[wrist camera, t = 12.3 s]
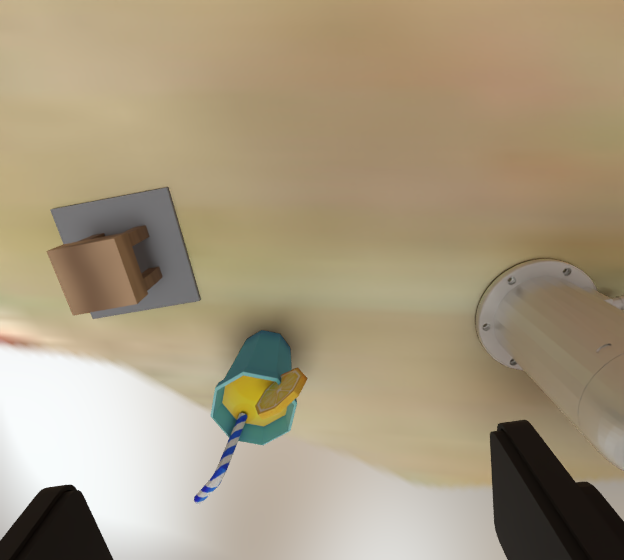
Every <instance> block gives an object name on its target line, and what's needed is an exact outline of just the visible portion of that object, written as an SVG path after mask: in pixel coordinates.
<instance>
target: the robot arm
mask: <svg viewBox="0 0 624 560" xmlns="http://www.w3.org/2000/svg"><path fill="white" fill-rule="evenodd" d="M509 278H510V279H509ZM508 279H509V280H508ZM623 310H624V296H618V297H615V298H609V297H607V296H605V295H603V294H601V293H599V292H598V291H597V288H596V286H595V284H594V283H593V281H592V280H591V278H590V277H589V276H588V275H587V274H586V273H584V272H583V271H582V270H580V269H579V268H577V267H575V266H573V265H571V264H569V263H566V262H564V261H559V260H554V259H537V260H531V261H527V262H524V263H521V264H518V265H516V266H514V267H512V268H511V269H509V270H507V271H505V272H504V273H503V274H501V275H500V276H499V277H498V278H496V279H495V281H494V282H493V283H492V284H491V285H490V286H489V287H488V289H487V290H486V292H485V293H484V295H483V296H482V298H481V301H480V303H479V306H478V309H477V314H476V330H477V334H478V338H479V340H480V342H481V344H482V346H483V347H484V348H485V350H486V351H487V352H488V353H489V354H490V355H491V356H492V357H493V358H494V359H495V360H496V361H498V362H499V363H501V364H502V365H505V366H507V367H509V368H513V369H518V370H524V371H525V372H526V373H527V374H528V375H529V376H530V378H531V379H532V380H533V381H534V382H535V383H536V384H537V385H538V386H539V387H540V388H541V390H542V391H543V392H544V393H545V394H546V395H547V396H548V397H549V398H550V399H551V400H552V402H553V403H554V404H555V405H556V406H557V407H558V408H559V409H560V410H561V411H562V413H563V414H564V415H565V416H566V417H567V418H568V419H569V420H570V421H571V422H572V423H573V425H574V426H575V427H576V428H577V429H578V430H579V431H580V432H581V433H582V434H583V435H584V437H585V438H586V439H587V440H588V441H589V442H590V443H591V444H592V445H593V446H594V447H595V449H596V450H597V451H598V452H599V453H600V454H601V455H602V456H604V457H605V458H606V459H607V460H608V461H609V462H611V463H612V464H613V465H615V466H616V467H618V468H619V469H621V470H623V471H624V311H623ZM484 324H485V325H484ZM490 447H491V467H492V487H493V507H494V524H495V530H496V533H497V536H498V539H499V542H500V544H501V546H502V548H503V550H504V553H505V555H506V557H507V559H508V560H624V521H623V520H622V519H621V518H620V517H619V515H618V514H617V513H616V512H615V510H614V509H613V508H612V507H611V506H610V504H609V503H608V502H607V501H606V499H605V498H604V497H603V496H602V494H601V493H600V492H599V491H598V490H597V489H596V488H595V487H594V486H593V485H591V484H590V483H588V482H577V483H576V482H575V481H574V480H573V478H572V477H571V476H570V474H569V473H568V472H567V471H566V469H565V468H564V467H563V465H562V464H561V463H560V461H559V460H558V459H557V457H556V456H555V455H554V454H553V452H552V451H551V450H550V448H549V447H548V446H547V444H546V443H545V442H544V440H543V439H542V438H541V437H540V435H539V434H538V433H537V431H536V430H535V429H534V427H533V426H532V425H531V424H530V423H529V422H528V421H527V420H519V421H512V422H505V423H500V424H498V426H497V431H494V432H491V433H490ZM0 560H113V558H112V556H111V554H110V552H109V549H108V547H107V545H106V543H105V541H104V539H103V537H102V534H101V533H100V530H99V528H98V526H97V524H96V522H95V519H94V517H93V515H92V513H91V511H90V509H89V507H88V505H87V502H86V500H85V498H84V496H83V494H82V493H81V491H79V490H76V488H75V487H74V486H73V485H62V486H55V487H49V488H44V489H43V490H41V491H40V492H39V493H38V494H37V495H36V496H35V498H34V499H33V500H32V502H31V503H30V504H29V505H28V506H27V508H26V509H25V510H24V512H23V513H22V514H21V515H20V517H19V518H18V519H17V520H16V522H15V523H14V524H13V525H12V527H11V528H10V529H9V530H8V532H7V533H6V535H5V536H4V537H3V538H2V539H1V541H0Z"/></svg>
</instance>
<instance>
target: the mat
mask: <svg viewBox="0 0 624 560" xmlns="http://www.w3.org/2000/svg"><path fill="white" fill-rule="evenodd" d="M51 213H52V215H53V218H54V220H55V223H56V226H57V228H58V231H59V233H60V236H61V238H62V241H63V244H68V243H73V242H78V241H80V240H82V239H85V238H87V237H90V236H92V235H96V234H101V233H104V234H105V236H110V235H115V234H120V233H123V232H125V231H127V230H130V229H132V228H134V227H138V226H143V225H146V227H147V230H148V233H149V236H150V237H148V238H146V239H145V240H143V241H141V242H139V243H137V244H136V245H134V246H132V248H133V250H134V253H135V256H136V259H137V262H138V265H139V268H140V271H141V274H142V273H143V272H144V271H145V270H147V269H148V268H154V267H160V270H161V273H162V278H161V279H160V280H159V281H158V282H157V283H156V284H155V285H153V286H152V287H151V288H150V289H149V290H148V291H147V292H148V295H147V296H146V297H144V298H143V299H142V300H141V301H140V302H139V303H138V304H135V305H129V306H124V307H118V308H112V309H107V310H101V311H95V312H90V313H91V316H92V318H93V319H96V318H101V317H107V316H113V315H119V314H125V313H131V312H137V311H143V310H149V309H154V308H160V307H166V306H172V305H178V304H184V303H190V302H196V301H200V300H201V299H200V295H199V292H198V288H197V285H196V281H195V278H194V274H193V271H192V268H191V264H190V261H189V257H188V254H187V250H186V247H185V243H184V240H183V237H182V233H181V230H180V226H179V223H178V219H177V216H176V212H175V209H174V205H173V202H172V199H171V195H170V192H169V188H168V187H167V188H161V189H156V190H151V191H145V192H140V193H135V194H130V195H124V196H119V197H114V198H108V199H103V200H98V201H93V202H87V203H82V204H77V205H72V206H66V207H61V208H56V209H51Z"/></svg>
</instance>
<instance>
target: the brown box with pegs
mask: <svg viewBox="0 0 624 560" xmlns="http://www.w3.org/2000/svg"><path fill="white" fill-rule="evenodd" d="M148 237H150V236H149V233H148V230H147V227H146V225H143V226H138V227H134V228H132V229H130V230H127V231H125V232H123V233H120V234H115V235H110V236H105V234H104V233H101V234H96V235H92V236H90V237H87V238H85V239H82V240H80V241H78V242H73V243H68V244H63V245H61V246H58V247H56V248H53V249H51V250H48V251H47V254H48V256H49V258H50V261H51V263H52V266H53V268H54V271H55V273H56V275H57V278H58V280H59V283H60V285H61V288H62V290H63V292H64V295H65V297H66V300H67V302H68V305H69V307H70V309H71V312H72V314H73V315H78V314H84V313H90V312H95V311H101V310H107V309H112V308H118V307H124V306H129V305H135V304H138V303H139V302H140V301H141V300H142V299H143V298H144V297H146V296H147V295H148V292H147V291H148V290H149V289H150V288H151V287H152V286H153V285H155V284H156V283H157V282H158V281H159V280H160V279H161V278H162V273H161V270H160V267H154V268H148V269H147V270H145V271H144V272H143V273H142V274H141V271H140V268H139V265H138V262H137V259H136V256H135V253H134V250H133V248H132V246H134V245H136V244H137V243H139V242H141V241H143V240H145V239H146V238H148Z"/></svg>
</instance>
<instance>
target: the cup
mask: <svg viewBox="0 0 624 560" xmlns="http://www.w3.org/2000/svg"><path fill="white" fill-rule="evenodd" d="M306 380H307V377H306V376H305V375H304V374H303V373H302V372H301V371H300V369H299V368H295V369H293V370H292V369H291V352H290V347H289V345H288V344H287V343H286V341H285V340H284V338H283V337H282V336H281V334H279V333H274V332H269V331H264V330H261V331H259V332H258V333H256V334H254V335H253V336H251V337H249V338H248V339H247V340H246V341H245V343H244V345H243V347H242V348H241V350H240V352H239V354H238V355H237V357H236V359H235V361H234V363H233V364H232V366H231V368H230V370H229V371H228V373H227V375H226V377H225V378H224V380H222V381H221V382H219V383H218V385H217V386H216V388H215V393H214V399H213V405H212V411H211V417H212V418H213V420H214V421H215V422H216V423H217V424H218V425H219V426H220V428H221V429H222V430H223V431H224V432H225V433H226V435H227V436H228V437H229V440H228V443H227V445H226V448H225V450H224V452H223V455H222V457H221V460H220V462H219V464H218V467H217V469H216V471H215V473H214V475H213V476H212V478H211V479H210V480H209V481H208V482H207V484H206V485H205V486H204V487H203V488H202V489H201V490H200V492H199V493H198V494H197V495H196V496H195V497H194V501H195V502H196V504H201V503H202V502H203V501H204V500H205V499H206V498H207V497H208V496H209V495H210V494H211V493H212V492H213V491H214V490H215V489H216V488H217V486H219V484H220V483H221V481H222V478H223V477H224V475H225V473H226V470H227V468H228V465H229V462H230V460H231V458H232V455H233V452H234V450H235V447H236V445H237V442H238V441H242V442H248V443H254V444H258V445H264V444H266V443H268V442H270V441H272V440H274V439H276V438H278V437H280V436H282V435H283V434H285V433H287V432H289V431H290V430H291V426H292V422H293V417H294V413H295V409H296V405H297V401H296V398H297V397H298V396H299V394H300V392H301V390H302V388H303V386H304V384H305V382H306Z"/></svg>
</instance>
